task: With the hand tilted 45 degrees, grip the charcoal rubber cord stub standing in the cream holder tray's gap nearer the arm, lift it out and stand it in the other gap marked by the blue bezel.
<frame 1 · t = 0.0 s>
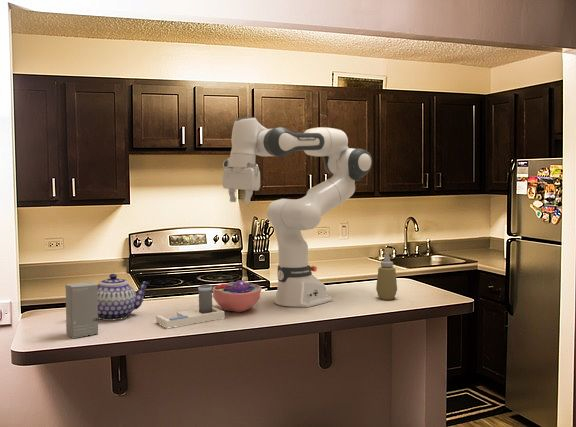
hand: (239, 202, 208), 39 cm above the countertop, tool pointing down, fingers open, 8 cm apart
stub: (205, 317, 203), resting in cream holder tray
teapot: (113, 317, 205), on the countertop
squeeze bottle: (386, 299, 231), on the countertop
skincare box: (82, 334, 185), on the countertop
cream holder tray: (189, 320, 200), on the countertop
cell model: (236, 310, 214), on the countertop
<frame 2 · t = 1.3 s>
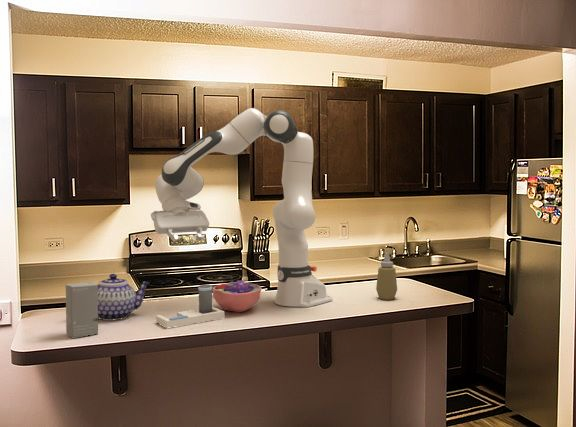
hand: (188, 239, 211), 26 cm above the countertop, tool tilted 45°, fingers open, 8 cm apart
nothing on the countertop moved.
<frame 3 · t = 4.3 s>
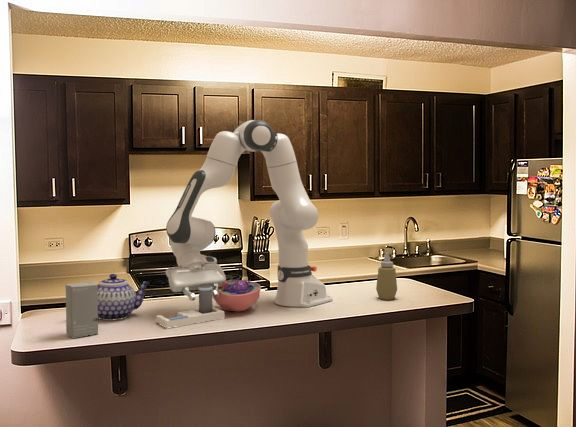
hand: (204, 297, 203), 7 cm above the countertop, tool tilted 45°, fingers open, 7 cm apart
cell model: (236, 309, 214), on the countertop, touching gripper
everything else where it was.
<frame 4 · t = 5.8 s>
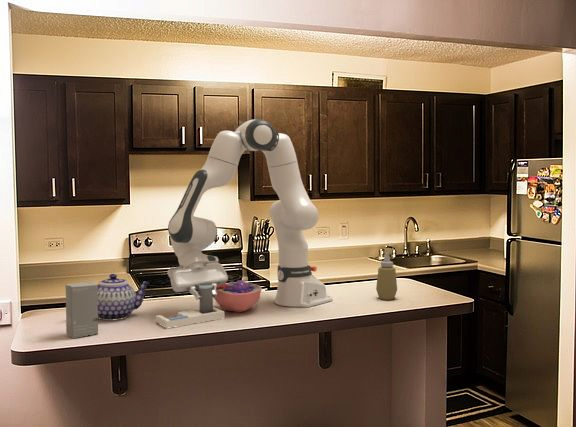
hand: (207, 297, 202), 7 cm above the countertop, tool tilted 45°, fingers closed on stub, 4 cm apart
stub: (206, 315, 204), point 1 cm above the countertop, touching gripper
cell model: (236, 310, 214), on the countertop
everything else where it was.
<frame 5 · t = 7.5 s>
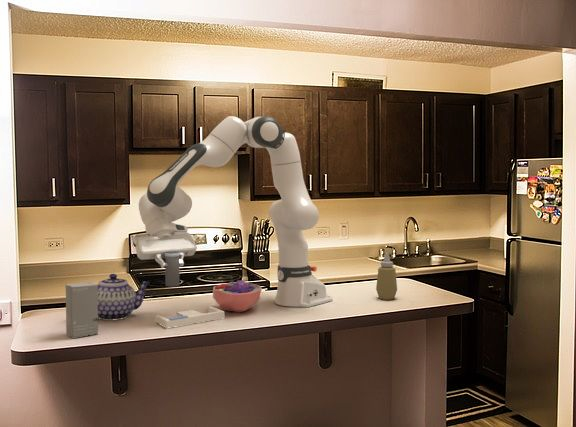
hand: (173, 266, 195), 19 cm above the countertop, tool tilted 45°, fingers closed on stub, 4 cm apart
stub: (172, 285, 196), point 13 cm above the countertop, touching gripper
everything else where it was.
when the fingers open (8 cm above the countertop, at t = 9.9 s): stub drops 1 cm, resting on cream holder tray.
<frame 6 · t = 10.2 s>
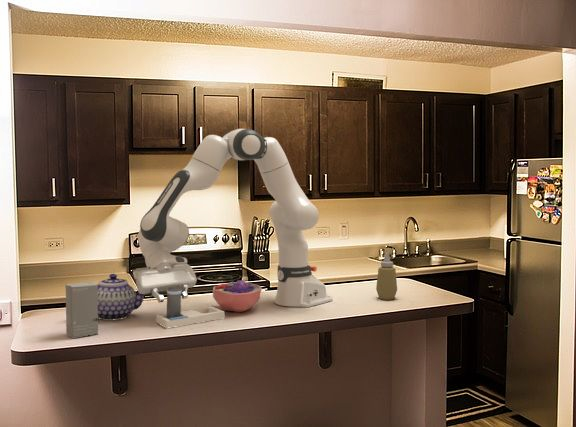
hand: (173, 299, 195), 8 cm above the countertop, tool tilted 45°, fingers open, 7 cm apart
stub: (173, 322, 197), resting on cream holder tray
everything else where it was.
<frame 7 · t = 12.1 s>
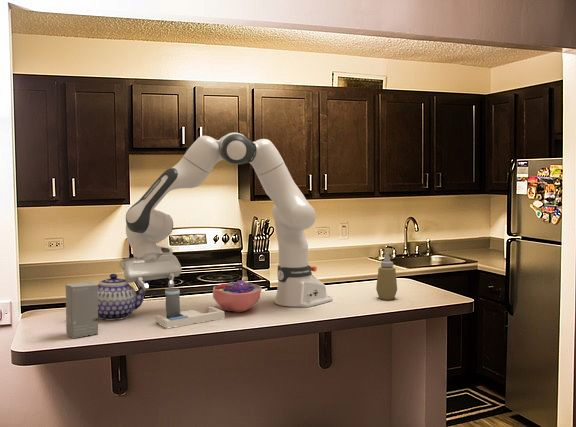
hand: (159, 287, 206), 10 cm above the countertop, tool tilted 45°, fingers open, 8 cm apart
nothing on the countertop moved.
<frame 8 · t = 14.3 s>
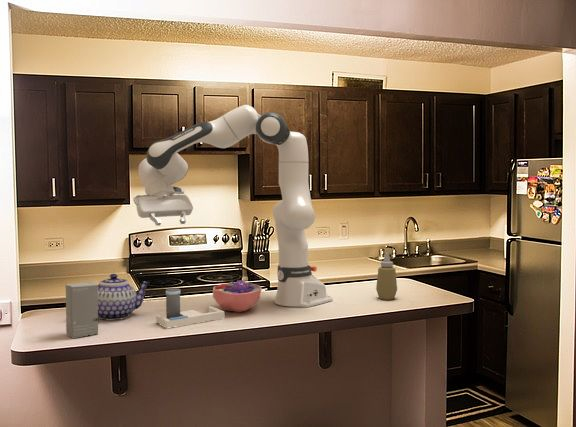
hand: (171, 223, 210), 31 cm above the countertop, tool tilted 45°, fingers open, 8 cm apart
nothing on the countertop moved.
at the end: stub 0.1 cm from the target spot on the cream holder tray, point 0.2 cm above the cream holder tray's base; stub tilted 1°; the gripper is holding nothing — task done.
